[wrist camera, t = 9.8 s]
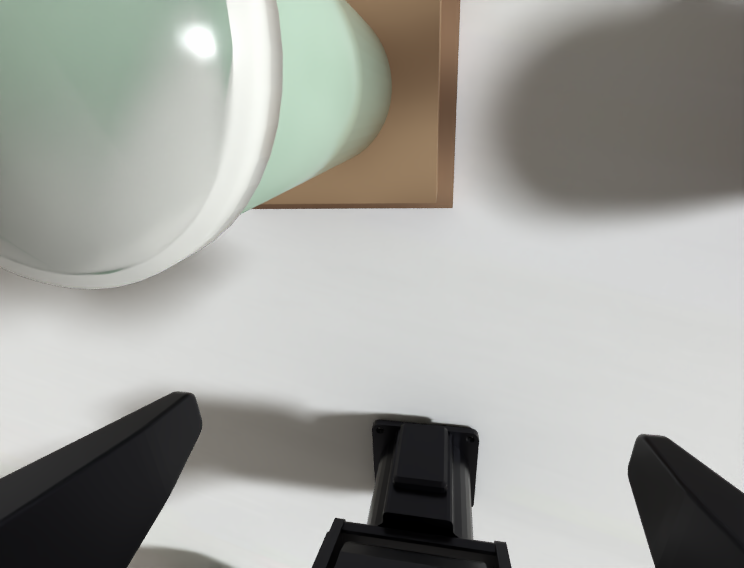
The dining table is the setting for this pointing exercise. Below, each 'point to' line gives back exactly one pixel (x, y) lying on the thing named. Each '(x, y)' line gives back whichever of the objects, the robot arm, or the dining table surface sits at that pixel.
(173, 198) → the tumbler
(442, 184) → the pedestal
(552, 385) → the dining table surface
